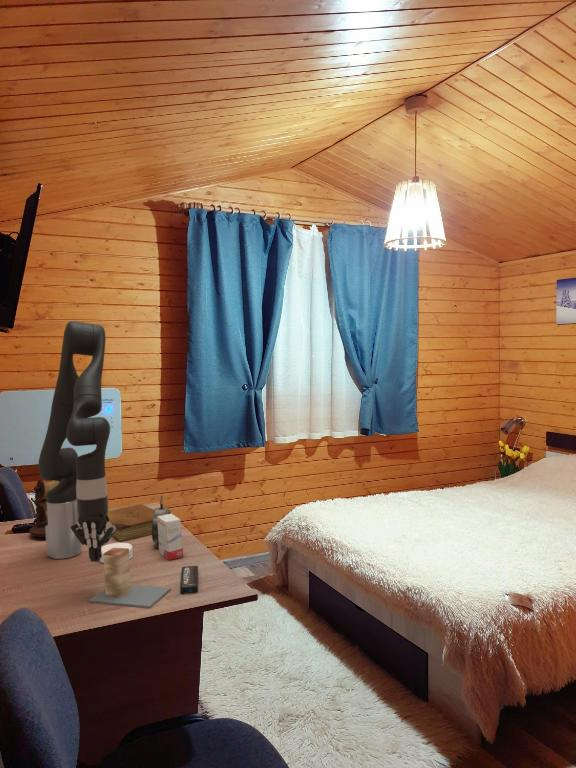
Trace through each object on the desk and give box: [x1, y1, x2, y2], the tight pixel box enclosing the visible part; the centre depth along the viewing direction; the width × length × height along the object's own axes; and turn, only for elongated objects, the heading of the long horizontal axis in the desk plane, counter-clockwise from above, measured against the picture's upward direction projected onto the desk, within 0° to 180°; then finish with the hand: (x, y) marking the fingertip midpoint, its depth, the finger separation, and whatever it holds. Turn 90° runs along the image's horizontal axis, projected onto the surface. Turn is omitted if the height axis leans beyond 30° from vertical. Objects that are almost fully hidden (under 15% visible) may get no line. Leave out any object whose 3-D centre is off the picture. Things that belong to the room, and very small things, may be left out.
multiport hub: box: [179, 565, 199, 595], centre depth 155 cm, size 4×14×2 cm, turn 8°
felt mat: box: [88, 584, 172, 609], centre depth 148 cm, size 17×11×1 cm, turn 74°
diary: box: [104, 503, 155, 543], centre depth 206 cm, size 23×19×6 cm
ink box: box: [157, 513, 184, 561], centre depth 177 cm, size 9×5×12 cm, turn 31°
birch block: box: [103, 548, 132, 597], centre depth 149 cm, size 4×4×11 cm
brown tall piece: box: [28, 479, 61, 541], centre depth 202 cm, size 15×15×20 cm
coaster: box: [99, 542, 134, 564], centre depth 176 cm, size 10×10×4 cm
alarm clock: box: [151, 494, 172, 550], centre depth 187 cm, size 11×5×16 cm, turn 2°
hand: (95, 560), depth 150 cm, fingers closed
